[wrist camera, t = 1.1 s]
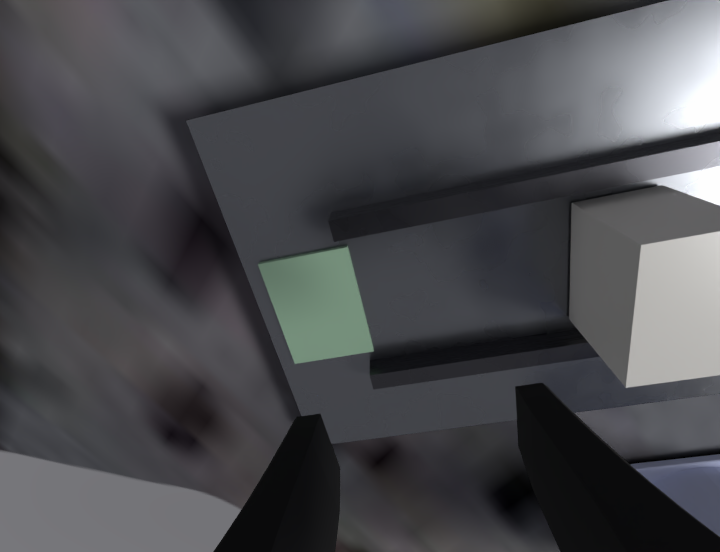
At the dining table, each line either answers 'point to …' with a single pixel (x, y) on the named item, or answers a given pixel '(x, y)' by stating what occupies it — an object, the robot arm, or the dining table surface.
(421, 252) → the breaker panel
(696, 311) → the switch handle
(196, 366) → the dining table surface
